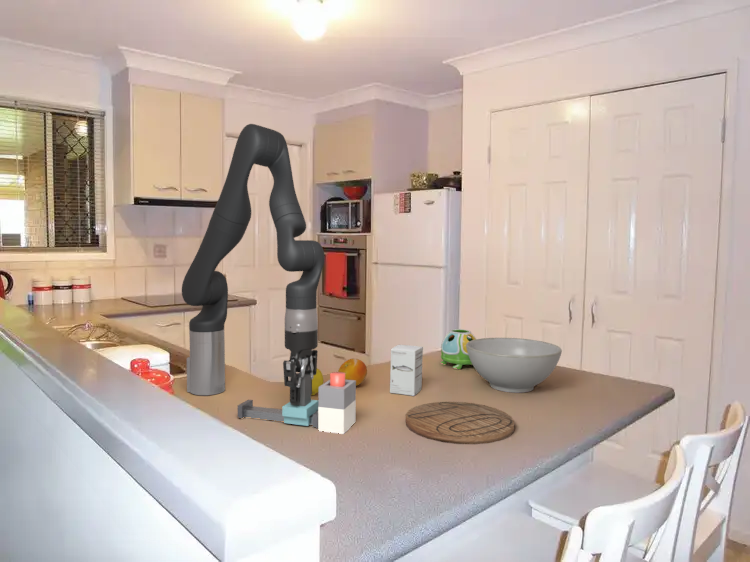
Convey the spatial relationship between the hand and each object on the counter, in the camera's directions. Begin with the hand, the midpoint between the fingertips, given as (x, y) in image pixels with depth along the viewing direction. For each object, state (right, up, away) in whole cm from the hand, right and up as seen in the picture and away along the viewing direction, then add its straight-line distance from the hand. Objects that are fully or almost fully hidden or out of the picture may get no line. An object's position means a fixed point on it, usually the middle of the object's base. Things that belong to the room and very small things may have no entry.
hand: (301, 398), depth 129 cm
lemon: (0, -4, +22) cm, 23 cm away
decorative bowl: (+57, -4, +33) cm, 66 cm away
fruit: (+11, -3, +32) cm, 34 cm away
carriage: (0, -5, 0) cm, 5 cm away
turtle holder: (+47, -2, +58) cm, 75 cm away
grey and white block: (+9, -6, -2) cm, 11 cm away
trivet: (+37, -7, +1) cm, 37 cm away
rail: (-5, -5, +2) cm, 8 cm away
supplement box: (+26, -4, +27) cm, 38 cm away
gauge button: (+9, 0, -3) cm, 9 cm away
